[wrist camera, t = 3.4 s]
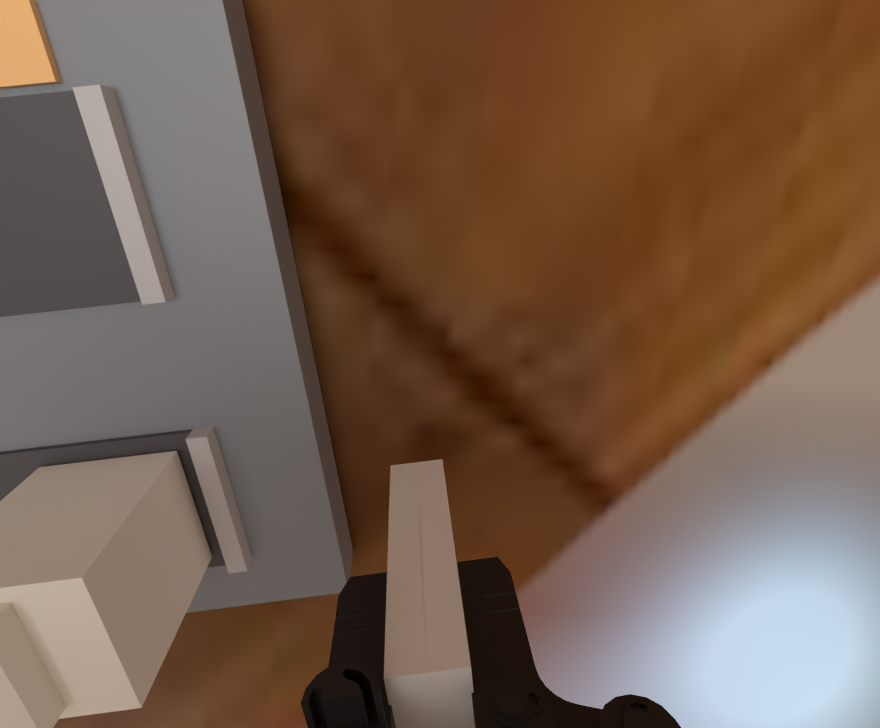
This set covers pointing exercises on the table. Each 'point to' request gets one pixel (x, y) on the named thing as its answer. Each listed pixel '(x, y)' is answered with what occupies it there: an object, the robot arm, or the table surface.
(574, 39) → the table surface
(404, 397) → the table surface
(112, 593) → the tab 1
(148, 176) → the switch board
